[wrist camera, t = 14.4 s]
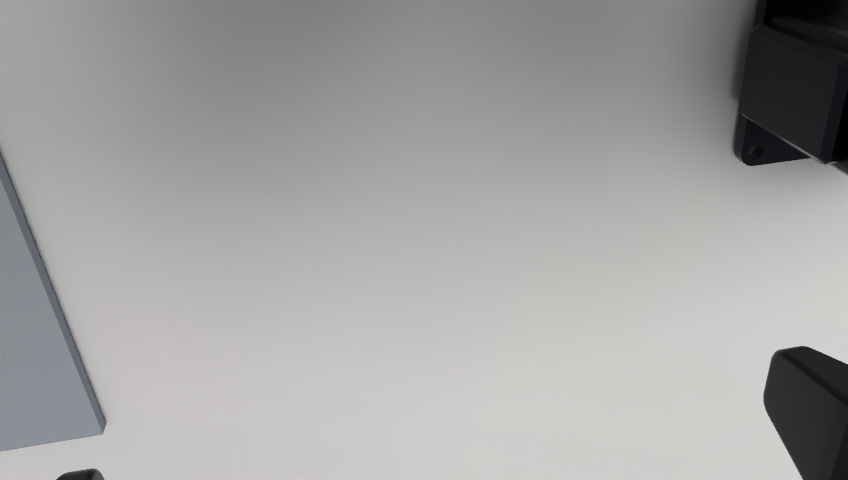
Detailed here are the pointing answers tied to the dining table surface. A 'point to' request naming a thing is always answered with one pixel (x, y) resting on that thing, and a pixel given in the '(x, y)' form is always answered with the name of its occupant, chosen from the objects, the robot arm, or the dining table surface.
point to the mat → (36, 346)
